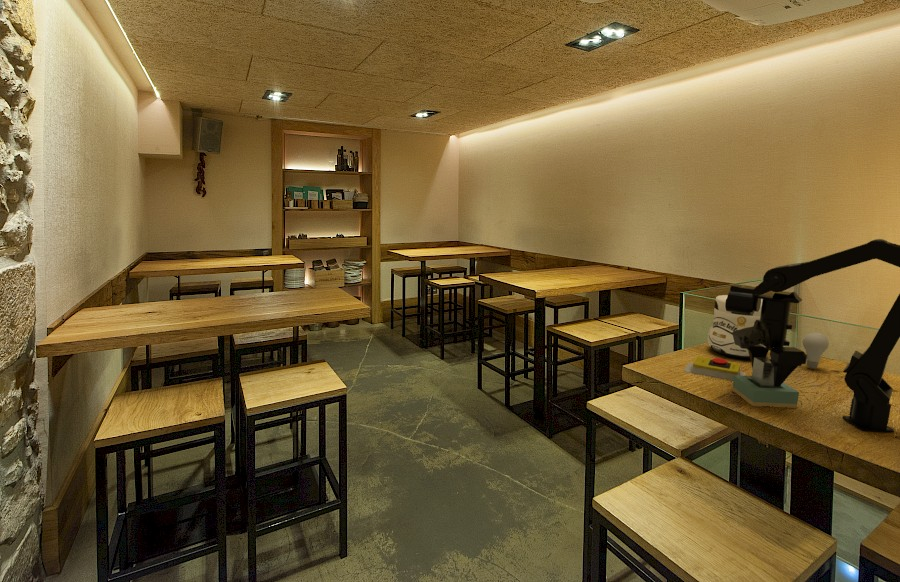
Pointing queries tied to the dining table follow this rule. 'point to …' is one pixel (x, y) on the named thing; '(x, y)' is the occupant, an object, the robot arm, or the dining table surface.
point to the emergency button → (714, 368)
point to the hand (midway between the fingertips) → (765, 379)
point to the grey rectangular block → (763, 373)
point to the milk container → (729, 328)
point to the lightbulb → (814, 348)
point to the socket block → (765, 393)
